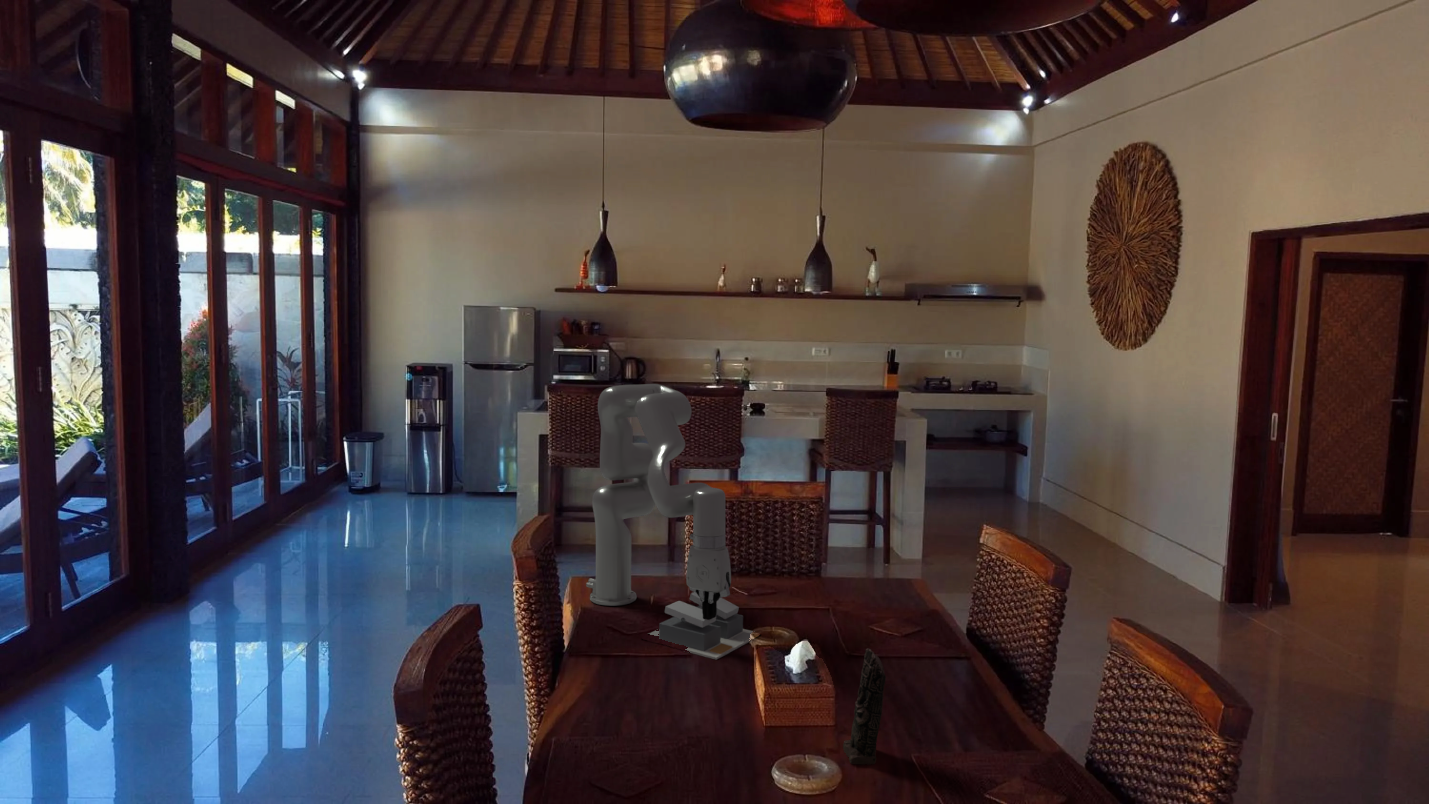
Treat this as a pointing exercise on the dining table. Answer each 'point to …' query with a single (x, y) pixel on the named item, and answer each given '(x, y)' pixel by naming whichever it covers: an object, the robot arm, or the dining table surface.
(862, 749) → the statue
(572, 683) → the dining table surface
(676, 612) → the switch
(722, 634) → the switch board
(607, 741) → the dining table surface
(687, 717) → the dining table surface
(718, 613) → the switch
